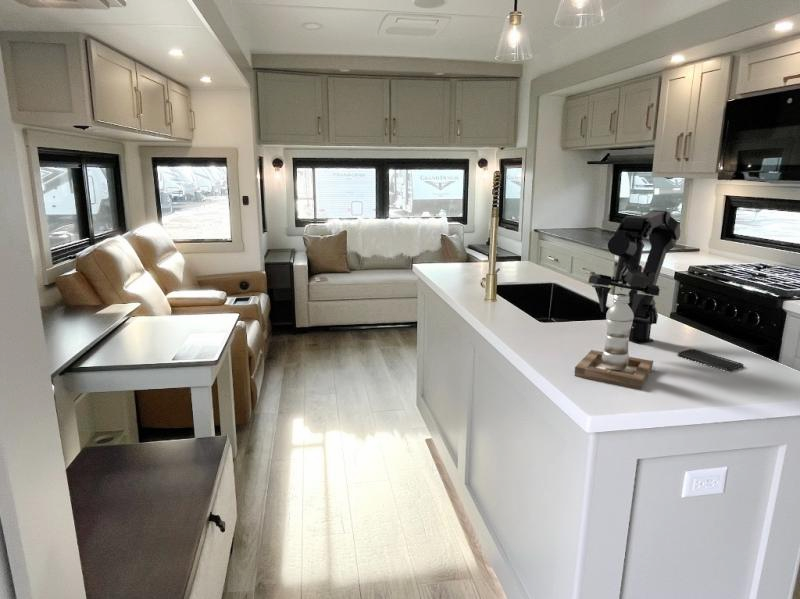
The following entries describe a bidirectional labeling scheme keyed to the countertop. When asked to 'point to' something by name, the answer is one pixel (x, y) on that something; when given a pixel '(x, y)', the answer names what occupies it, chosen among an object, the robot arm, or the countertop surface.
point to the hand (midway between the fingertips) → (617, 314)
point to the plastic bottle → (618, 333)
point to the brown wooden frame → (628, 377)
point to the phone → (710, 360)
